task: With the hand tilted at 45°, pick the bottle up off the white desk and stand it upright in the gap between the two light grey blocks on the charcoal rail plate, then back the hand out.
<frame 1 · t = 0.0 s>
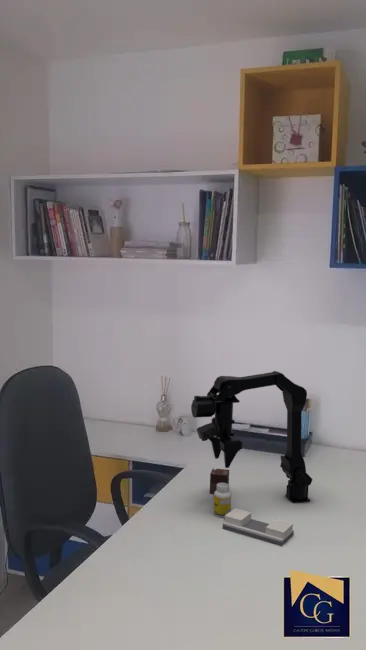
hand: (221, 463, 197), 15 cm above the table, tool pointing down, fingers open, 9 cm apart
rail plate: (257, 531, 181), on the table
box: (219, 492, 211), on the table
supplement bottle: (221, 515, 193), on the table
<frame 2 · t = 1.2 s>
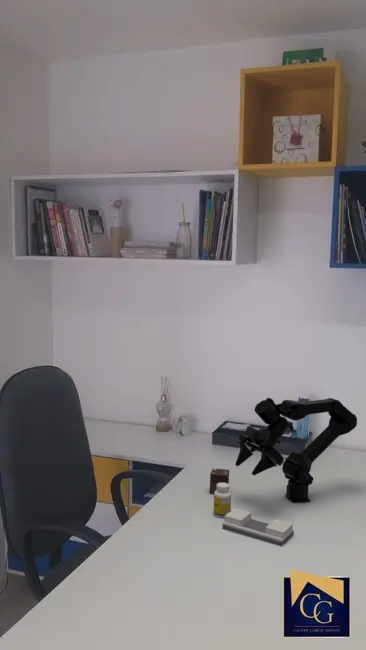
hand: (244, 469, 195), 13 cm above the table, tool tilted 45°, fingers open, 9 cm apart
nothing on the table moved.
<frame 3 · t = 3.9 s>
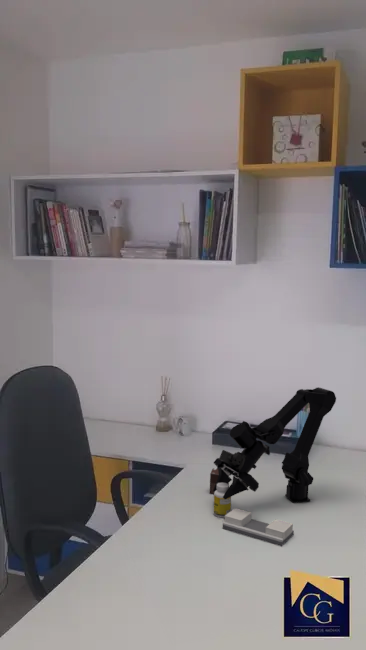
hand: (219, 495, 191), 7 cm above the table, tool tilted 45°, fingers closed on supplement bottle, 5 cm apart
supplement bottle: (221, 515, 193), on the table, touching gripper
everything else where it was.
when the fingers open (9 cm above the table, at t = 7.9 s): supplement bottle drops 1 cm, resting on rail plate.
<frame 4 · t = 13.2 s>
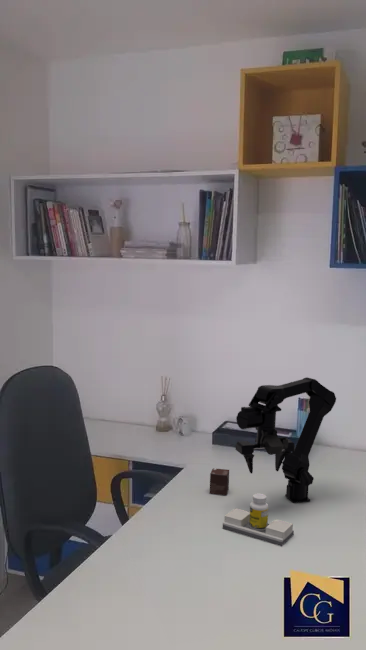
hand: (264, 472, 198), 12 cm above the table, tool pointing down, fingers open, 9 cm apart
supplement bottle: (258, 528, 181), point 1 cm above the table, touching rail plate
everything else where it was.
at the end: supplement bottle 0.1 cm off-centre on the rail plate, point 1.0 cm above the rail plate's base; supplement bottle tilted 0°; the gripper is holding nothing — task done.
